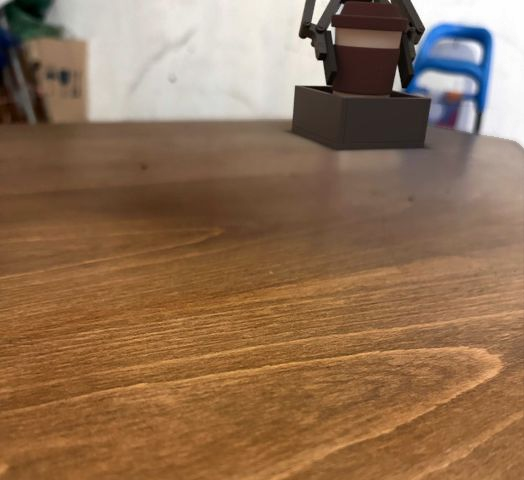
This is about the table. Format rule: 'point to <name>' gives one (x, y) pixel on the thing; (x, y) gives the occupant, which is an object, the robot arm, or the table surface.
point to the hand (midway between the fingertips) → (370, 80)
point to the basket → (360, 119)
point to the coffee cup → (367, 48)
